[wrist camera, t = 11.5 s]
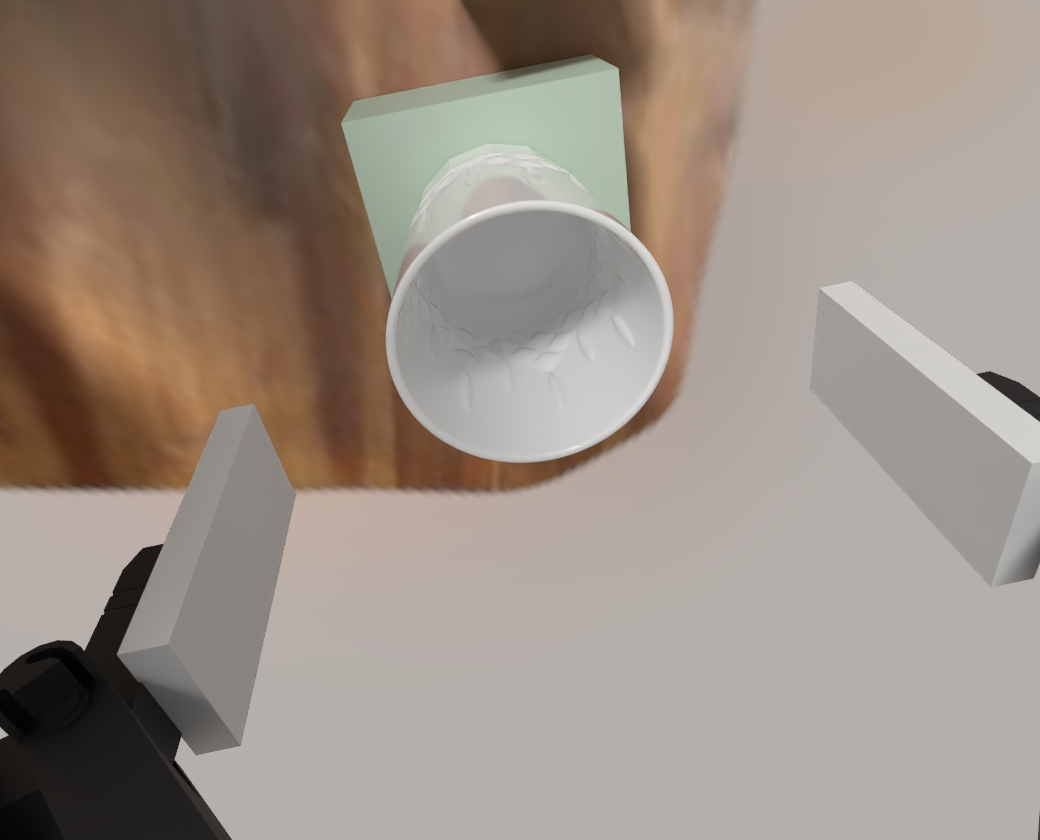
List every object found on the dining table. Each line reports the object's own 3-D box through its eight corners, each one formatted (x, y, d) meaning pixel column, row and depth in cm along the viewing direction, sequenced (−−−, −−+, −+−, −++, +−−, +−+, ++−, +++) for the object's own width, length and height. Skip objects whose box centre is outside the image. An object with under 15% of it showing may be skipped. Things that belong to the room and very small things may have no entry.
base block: (412, 318, 34) (411, 366, 30) (353, 100, 29) (341, 123, 25) (611, 278, 34) (637, 321, 30) (590, 54, 29) (618, 68, 25)
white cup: (365, 270, 28) (338, 401, 19) (459, 80, 24) (475, 138, 16) (533, 352, 30) (573, 497, 22) (638, 192, 27) (732, 291, 19)
